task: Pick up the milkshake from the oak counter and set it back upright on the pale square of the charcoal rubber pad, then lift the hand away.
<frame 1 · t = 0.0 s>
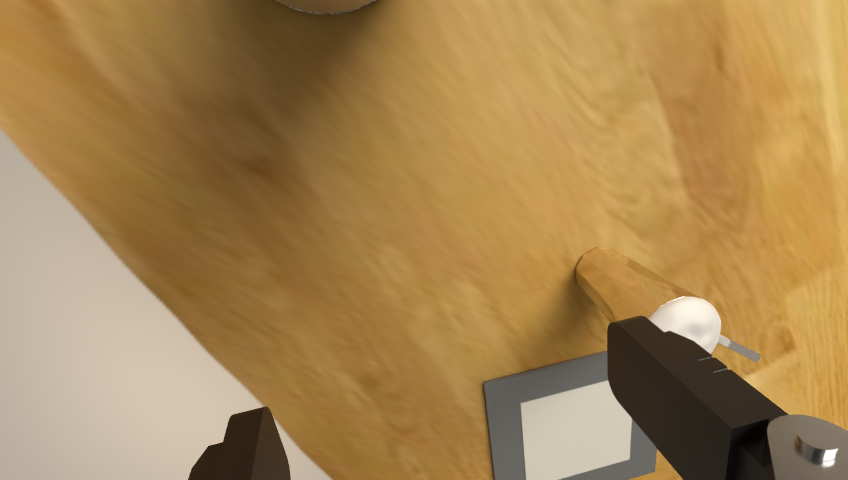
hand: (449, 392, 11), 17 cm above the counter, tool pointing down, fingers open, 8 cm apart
pad: (576, 429, 37), on the counter
milkshake: (601, 267, 32), on the counter
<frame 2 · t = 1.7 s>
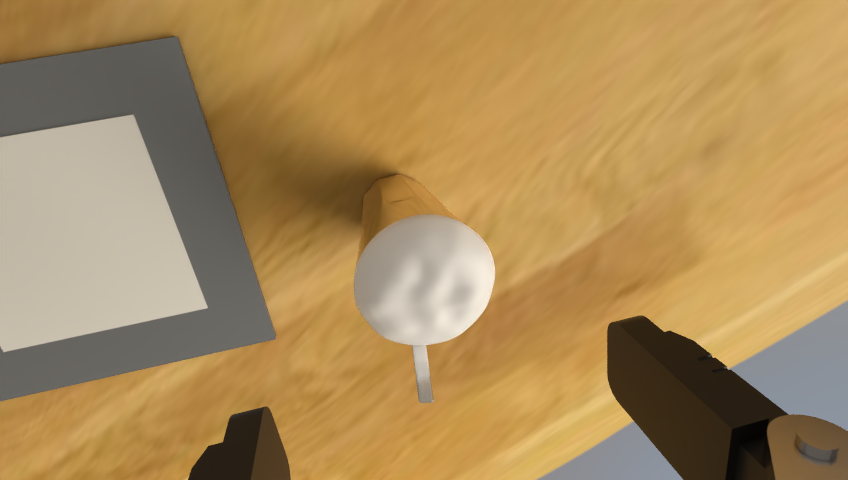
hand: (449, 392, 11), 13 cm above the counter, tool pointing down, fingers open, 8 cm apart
pad: (68, 237, 21), on the counter
milkshake: (394, 214, 23), on the counter
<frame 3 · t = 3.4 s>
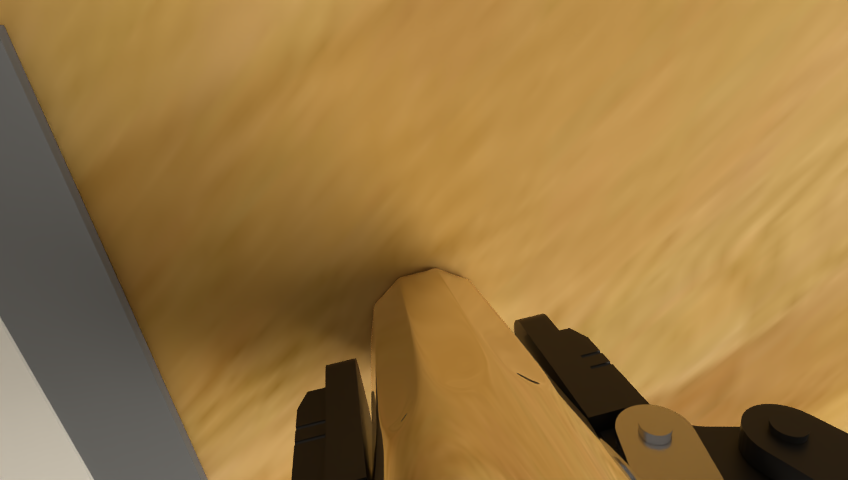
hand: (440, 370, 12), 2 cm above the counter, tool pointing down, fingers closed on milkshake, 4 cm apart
milkshake: (425, 329, 14), on the counter, touching gripper
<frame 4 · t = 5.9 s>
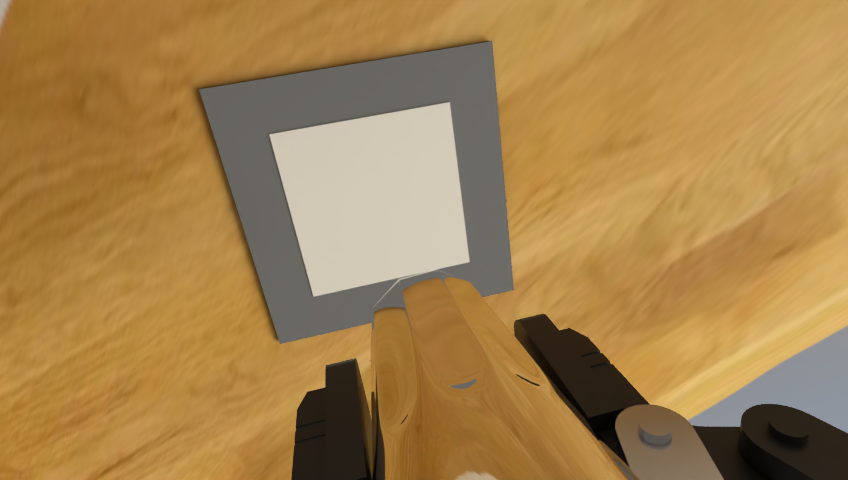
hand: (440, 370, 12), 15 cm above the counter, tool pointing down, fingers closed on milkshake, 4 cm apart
pad: (377, 202, 25), on the counter
milkshake: (424, 330, 14), point 13 cm above the counter, touching gripper
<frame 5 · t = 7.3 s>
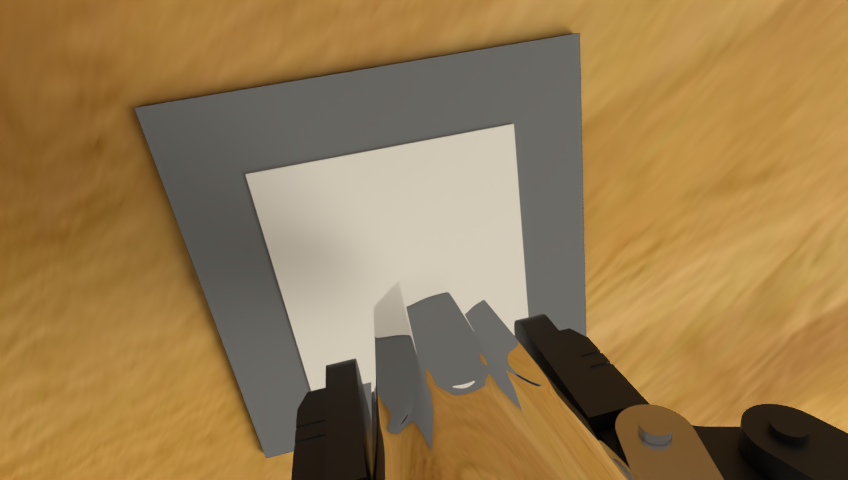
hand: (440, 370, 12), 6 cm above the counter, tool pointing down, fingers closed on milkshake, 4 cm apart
pad: (404, 265, 18), on the counter
milkshake: (424, 331, 14), point 5 cm above the counter, touching gripper
when the fingers open (3 cm above the counter, at t = 8.7 s): milkshake drops 1 cm, resting on pad.
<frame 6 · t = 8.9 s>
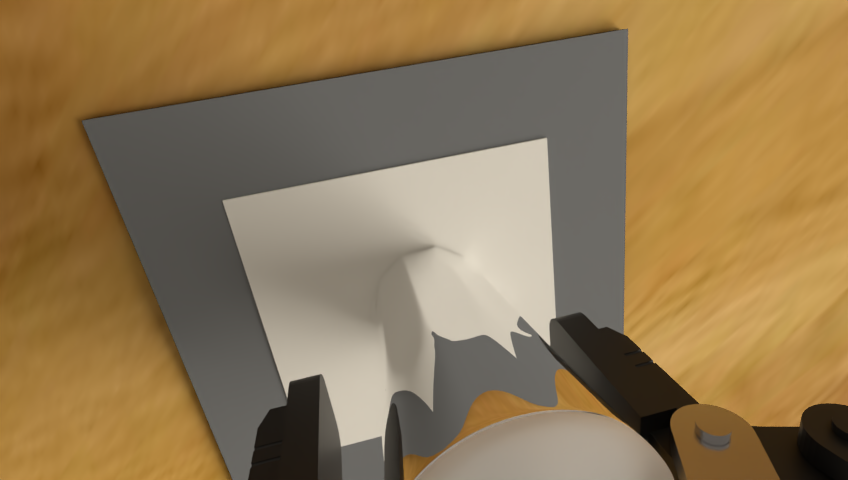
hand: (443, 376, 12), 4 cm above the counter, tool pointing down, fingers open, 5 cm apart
pad: (414, 303, 15), on the counter
milkshake: (425, 304, 15), resting on pad
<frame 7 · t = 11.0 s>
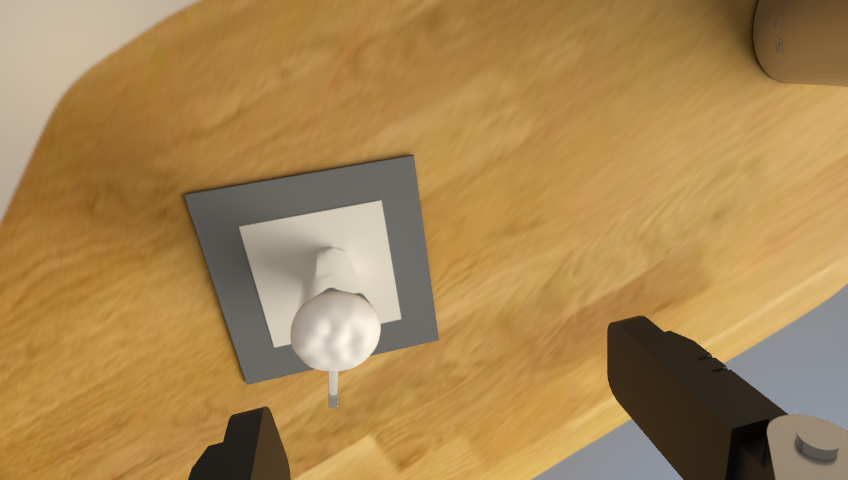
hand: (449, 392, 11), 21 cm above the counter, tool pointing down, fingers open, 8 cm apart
pad: (326, 274, 32), on the counter
milkshake: (330, 274, 32), resting on pad
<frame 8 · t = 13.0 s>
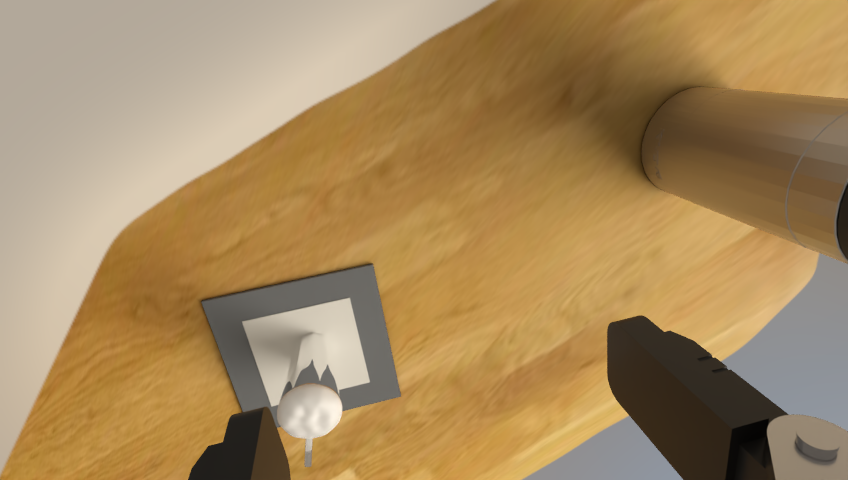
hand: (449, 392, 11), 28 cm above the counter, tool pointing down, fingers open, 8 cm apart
pad: (309, 351, 42), on the counter
milkshake: (313, 351, 42), resting on pad
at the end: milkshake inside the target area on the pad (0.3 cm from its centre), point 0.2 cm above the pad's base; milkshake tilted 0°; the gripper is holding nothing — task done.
